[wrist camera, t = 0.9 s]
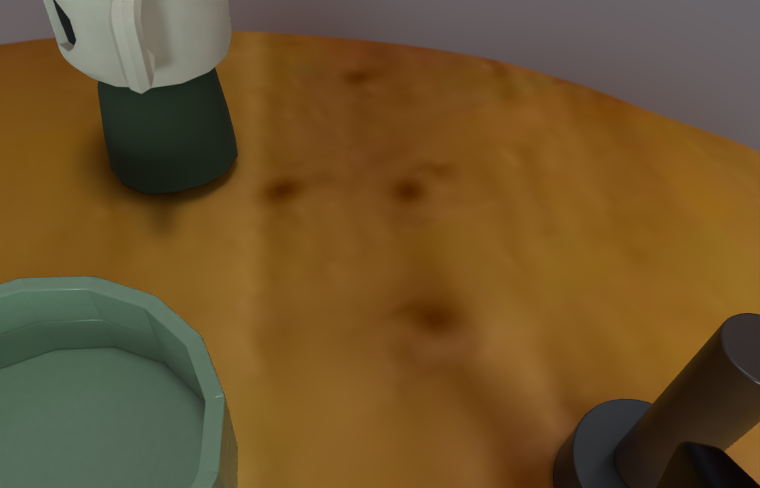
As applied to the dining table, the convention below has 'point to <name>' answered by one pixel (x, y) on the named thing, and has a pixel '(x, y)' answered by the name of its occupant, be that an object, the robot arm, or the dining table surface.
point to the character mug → (154, 85)
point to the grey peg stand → (669, 416)
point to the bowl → (106, 391)
